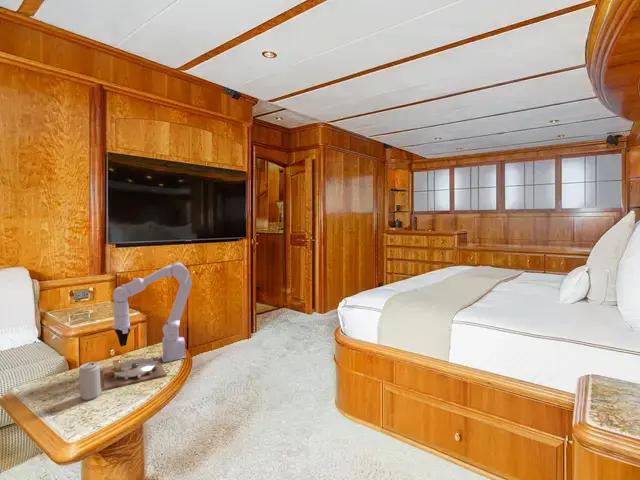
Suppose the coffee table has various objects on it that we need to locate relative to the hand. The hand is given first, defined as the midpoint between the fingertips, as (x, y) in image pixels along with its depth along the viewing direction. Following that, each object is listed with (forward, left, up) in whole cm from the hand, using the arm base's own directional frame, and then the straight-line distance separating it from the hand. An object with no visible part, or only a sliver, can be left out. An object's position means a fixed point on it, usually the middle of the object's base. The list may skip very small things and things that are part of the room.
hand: (123, 345), depth 160 cm
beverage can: (+13, +23, -10) cm, 28 cm away
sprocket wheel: (-3, +10, -8) cm, 13 cm away
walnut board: (-3, +10, -9) cm, 14 cm away
